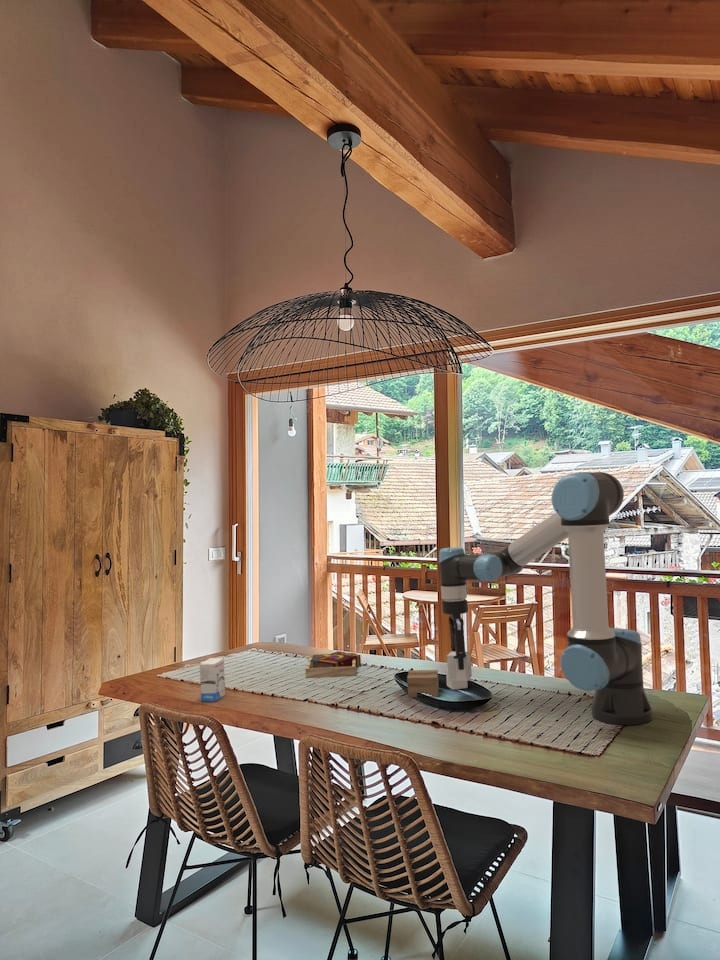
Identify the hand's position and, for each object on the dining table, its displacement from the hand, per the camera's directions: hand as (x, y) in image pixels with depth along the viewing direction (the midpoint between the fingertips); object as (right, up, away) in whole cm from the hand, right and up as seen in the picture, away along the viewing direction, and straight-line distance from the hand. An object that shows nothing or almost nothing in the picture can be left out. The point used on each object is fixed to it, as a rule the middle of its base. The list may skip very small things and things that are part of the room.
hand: (459, 677), depth 205 cm
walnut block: (-10, -7, +8) cm, 15 cm away
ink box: (-76, -11, +13) cm, 78 cm away
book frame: (-40, -10, +44) cm, 60 cm away
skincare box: (0, -1, 0) cm, 1 cm away
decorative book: (-38, -10, +44) cm, 59 cm away
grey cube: (+1, -7, +13) cm, 15 cm away
